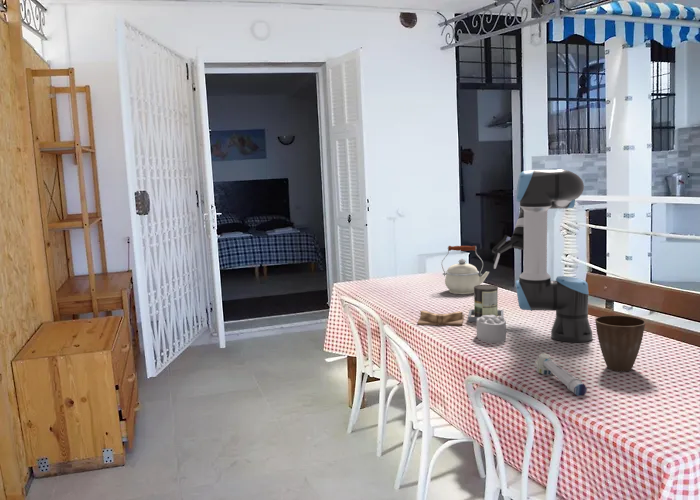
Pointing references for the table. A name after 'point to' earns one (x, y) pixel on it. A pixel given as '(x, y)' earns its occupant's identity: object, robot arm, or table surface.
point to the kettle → (463, 274)
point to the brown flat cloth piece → (441, 318)
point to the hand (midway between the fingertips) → (510, 271)
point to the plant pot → (620, 340)
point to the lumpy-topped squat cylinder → (491, 329)
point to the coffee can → (485, 300)
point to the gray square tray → (474, 319)
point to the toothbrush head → (560, 374)
